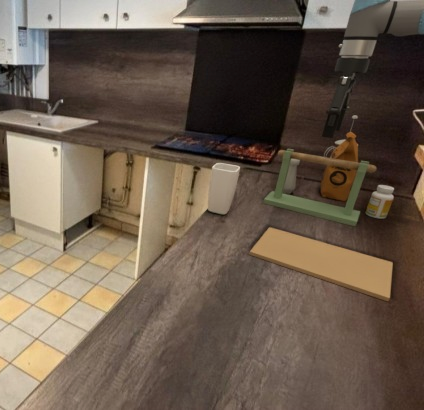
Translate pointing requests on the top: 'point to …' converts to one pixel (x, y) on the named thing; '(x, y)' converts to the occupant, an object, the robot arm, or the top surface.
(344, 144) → the coffee package
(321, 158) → the rod
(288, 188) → the salt shaker
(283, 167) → the rack
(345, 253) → the mat
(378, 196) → the supplement bottle
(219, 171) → the cup
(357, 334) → the top surface
